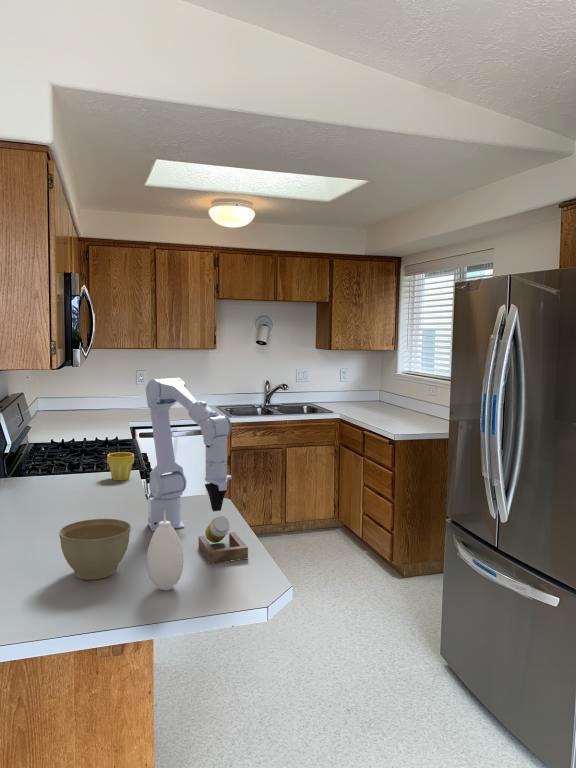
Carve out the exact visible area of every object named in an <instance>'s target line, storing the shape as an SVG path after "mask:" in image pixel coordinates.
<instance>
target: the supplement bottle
mask: <svg viewBox="0 0 576 768" xmlns="http://www.w3.org/2000/svg"><path fill="white" fill-rule="evenodd" d="M230 528H231V527H230V521H229V519H228V518H227V517H226V516H216V517H215V518H212V520H211V521H210V522H209V523H208V526H207V527H206V528H205V535H204V536H205V538H206V539H207V541H208V542H209V543H212V544H213V543H214V544H217V543H220V542H221V541H223V540H224V538H225V537H226V536H227V535H228V534H229V531H230Z"/></svg>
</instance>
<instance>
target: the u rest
mask: <svg viewBox="0 0 576 768" xmlns="http://www.w3.org/2000/svg"><path fill="white" fill-rule="evenodd" d="M228 543H230V544H231V545H230V544H229V545H230V547H223V548H217V549H214V548H213V546H212V545H211V542H210V541H209V540H208V539H207V538H206V535H198V549H199V548H200V549H199V550H200V552H201V553H202V555H203V556H204V558H205V560H206V559H207V560H206V561H207V563H208V562H209V563H208V564H209V565H212V564H211V563H215V564H220V563H219V562H222V563H226V562H225V561H229V562H232V561H231V560H236V561H239V560H238V559H244V560H246V559H245V558H248V559H249V547H248V546H247V544H245V542H244V541H243V540H242V539H241V537H239V536H238V534H237V533H236V532H235V531H232V532H231V531H230V532H228Z"/></svg>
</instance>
